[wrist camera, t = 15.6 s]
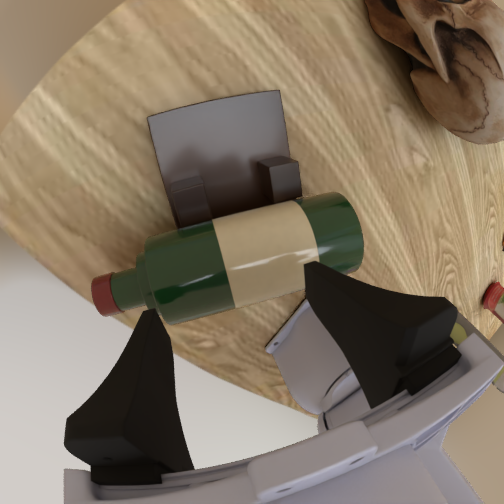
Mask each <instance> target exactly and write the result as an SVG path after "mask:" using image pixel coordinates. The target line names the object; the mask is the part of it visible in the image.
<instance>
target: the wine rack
mask: <svg viewBox="0 0 504 504" xmlns="http://www.w3.org/2000/svg"><path fill="white" fill-rule="evenodd" d="M147 121H148V125H149V129H150V133H151V137H152V141H153V145H154V149H155V153H156V157H157V161H158V165H159V168H160V172H161V176H162V179H163V183H164V186H165V190H166V193H167V197H168V200H169V204H170V207H171V210H172V214H173V217H174V220H175V223H176V227H177V229H179V228H182V227H186V226H190V225H194V224H197V223H201V222H205V221H209V220H212V219H215V218H219V217H223V216H227V215H231V214H235V213H239V212H243V211H247V210H251V209H255V208H259V207H264V206H268V205H272V204H277V203H281V202H285V201H292V200H296V198H297V197H301V196H302V188H301V180H300V172H299V164H298V161H296V160H293V159H291V158H290V151H289V144H288V138H287V131H286V125H285V119H284V112H283V106H282V101H281V95H280V90H271V91H263V92H256V93H249V94H243V95H237V96H231V97H226V98H220V99H215V100H210V101H206V102H201V103H197V104H193V105H188V106H184V107H180V108H177V109H173V110H169V111H165V112H162V113H158V114H155V115H152V116H148V117H147Z"/></svg>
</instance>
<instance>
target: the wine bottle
mask: <svg viewBox="0 0 504 504" xmlns="http://www.w3.org/2000/svg"><path fill="white" fill-rule="evenodd" d="M363 254H364V241H363V234H362V229H361V226H360V222H359V220H358V217H357V215H356V213H355V211H354V209H353V207H352V206H351V204H350V203H349V201H348V200H347V199H346V198H345V197H344V196H343V195H341V194H339V193H337V192H329V193H324V194H320V195H315V196H310V197H306V198H301V199H296V200H292V201H285V202H281V203H277V204H272V205H268V206H264V207H259V208H255V209H251V210H247V211H243V212H239V213H235V214H231V215H227V216H223V217H219V218H215V219H212V220H209V221H205V222H201V223H197V224H194V225H190V226H186V227H182V228H179V229H175V230H171V231H168V232H164V233H161V234H157V235H154V236H150V237H148V238H147V239H146V241H145V246H144V251H143V252H140V253H138V255H137V257H136V267H135V268H131V269H128V270H124V271H121V272H117V273H115V272H111V273H108V274H104V275H101V276H97V277H95V278H94V279H93V280H92V284H91V292H92V298H93V301H94V304H95V306H96V308H97V310H98V312H99V313H100V314H101V315H102V316H105V317H107V316H111V315H115V314H119V313H123V312H125V310H129V309H133V308H137V307H141V306H145V305H146V306H147V308H148V309H153V308H155V309H156V311H157V313H158V315H159V316H160V315H162V317H163V319H164V320H165V321H166V323H167V324H169V325H176V324H180V323H184V322H188V321H192V320H196V319H200V318H203V317H207V316H211V315H215V314H219V313H222V312H226V311H230V310H233V309H239V308H243V307H246V306H250V305H253V304H257V303H260V302H264V301H267V300H270V299H274V298H277V297H280V296H284V295H287V294H290V293H294V292H297V291H300V290H303V289H305V278H304V265H303V264H306V263H309V262H312V261H317V262H319V263H322V264H324V265H326V266H328V267H330V268H332V269H334V270H336V271H338V272H340V273H343V274H345V275H348V274H351V273H354V272H355V271H357V270H358V269H359V267H360V265H361V263H362V260H363Z"/></svg>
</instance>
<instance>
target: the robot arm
mask: <svg viewBox="0 0 504 504" xmlns="http://www.w3.org/2000/svg"><path fill="white" fill-rule="evenodd" d="M303 265H304V278H305V292H306V299H305V301H304V302H303V303H302V304H301V306H300V307H299V308H298V309H297V311H296V312H295V313H294V314H293V315H292V317H291V318H290V319H289V320H288V321H287V323H286V324H285V325H284V326H283V327H282V329H281V330H280V331H279V332H278V333H277V335H276V336H275V337H274V338H273V339H272V340H271V342H270V343H269V344H268V345H267V346H266V348H265V350H266V352H267V353H270V354H272V355H273V357H274V359H275V362H276V364H277V366H278V368H279V370H280V372H281V375H282V377H283V379H284V381H285V383H286V386H287V388H288V390H289V392H290V394H291V396H292V397H293V398H294V400H295V401H296V402H297V403H298V404H299V405H300V406H301V407H302V408H303V409H305V410H306V411H308V412H310V413H313V414H316V415H319V416H318V426H317V427H318V433H319V434H318V435H316V436H313V437H311V438H308V439H305V440H303V441H300V442H297V443H295V444H292V445H289V446H286V447H283V448H281V449H277V450H274V451H271V452H268V453H265V454H261V455H258V456H255V457H251V458H247V459H243V460H240V461H235V462H231V463H227V464H222V465H218V466H213V467H208V468H202V469H197V470H195V469H194V466H193V463H192V460H191V458H190V455H189V451H188V448H187V445H186V441H185V438H184V434H183V430H182V426H181V422H180V417H179V412H178V408H177V402H176V392H175V377H174V359H173V351H172V345H171V340H170V337H169V335H168V333H167V331H166V329H165V327H164V325H163V323H162V321H161V319H160V317H159V315H158V313H157V311H156V309H155V308H153V309H149V310H146V311H143V313H142V314H141V316H140V318H139V320H138V323H137V325H136V327H135V329H134V331H133V333H132V335H131V337H130V339H129V341H128V343H127V345H126V347H125V349H124V351H123V352H122V354H121V356H120V358H119V360H118V361H117V363H116V364H115V366H114V367H113V369H112V370H111V372H110V373H109V375H108V376H107V377H106V379H105V380H104V381H103V383H102V384H101V385H100V386H99V387H98V389H97V390H96V391H95V392H94V393H93V395H92V396H91V397H90V398H89V399H88V400H87V401H86V402H85V403H84V404H83V405H82V406H81V407H80V408H78V409H77V410H76V411H75V412H74V413H73V414H71V415H70V416H69V417H68V418H67V421H66V428H65V437H64V446H65V448H66V449H67V450H68V451H69V452H70V453H71V454H73V455H74V456H75V457H77V458H79V459H80V460H82V461H84V462H85V463H87V464H89V465H90V466H91V472H90V471H86V470H77V469H64V504H484V502H483V501H482V499H481V498H480V497H479V495H478V494H477V492H476V491H475V490H474V488H473V487H472V486H471V484H470V483H469V482H468V480H467V479H466V478H465V476H464V475H463V474H462V472H461V471H460V470H459V468H458V467H457V466H456V464H455V463H454V462H453V460H452V459H451V458H450V456H449V455H448V454H447V452H446V451H445V450H444V449H443V448H442V443H443V441H444V438H445V435H446V433H447V430H448V427H449V425H450V424H451V423H452V422H453V421H454V420H455V419H457V418H458V417H459V416H460V415H461V414H462V413H463V412H464V411H465V410H466V409H467V408H469V407H470V406H471V405H472V404H473V403H474V402H475V401H476V400H477V399H478V398H479V397H480V396H481V395H482V394H483V393H484V391H485V390H486V389H487V388H488V386H489V385H490V384H491V382H492V381H493V380H494V378H495V377H496V376H497V374H498V373H499V372H500V370H501V369H502V367H503V366H504V362H503V361H502V360H501V359H500V358H499V357H498V356H497V355H496V354H495V353H494V352H493V351H492V350H491V349H490V348H489V347H488V346H487V345H486V344H485V343H484V342H483V341H482V340H481V339H480V338H479V337H478V336H477V335H476V334H475V333H472V334H471V335H470V336H468V337H467V338H466V339H465V340H464V341H462V342H461V343H460V344H459V345H458V346H457V348H455V347H454V346H453V345H452V344H453V343H454V340H453V339H452V338H451V337H450V334H451V332H452V330H453V327H454V325H455V322H456V319H457V315H458V310H457V308H456V307H455V306H454V305H453V304H452V303H451V302H450V301H448V300H447V299H446V298H445V297H428V296H417V295H409V294H403V293H398V292H393V291H389V290H385V289H382V288H379V287H375V286H372V285H369V284H366V283H364V282H361V281H359V280H356V279H354V278H351V277H349V276H347V275H345V274H343V273H340V272H338V271H336V270H334V269H332V268H330V267H328V266H326V265H324V264H322V263H319V262H317V261H312V262H309V263H306V264H303ZM275 342H276V343H275Z"/></svg>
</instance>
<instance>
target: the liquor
mask: <svg viewBox="0 0 504 504" xmlns="http://www.w3.org/2000/svg"><path fill="white" fill-rule="evenodd" d="M483 304H484V309H489V310H490V311H491V312H492V313H493V314H494V315H495V316H496V317H497V318H498V319H499V320H500V321H501V322H502V323H504V288H503V287H502V286H501V285H500V282H496V283H493V284H491V285H490V286H489V288H488V289H487V291H486V293H485V295H484V297H483Z"/></svg>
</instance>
